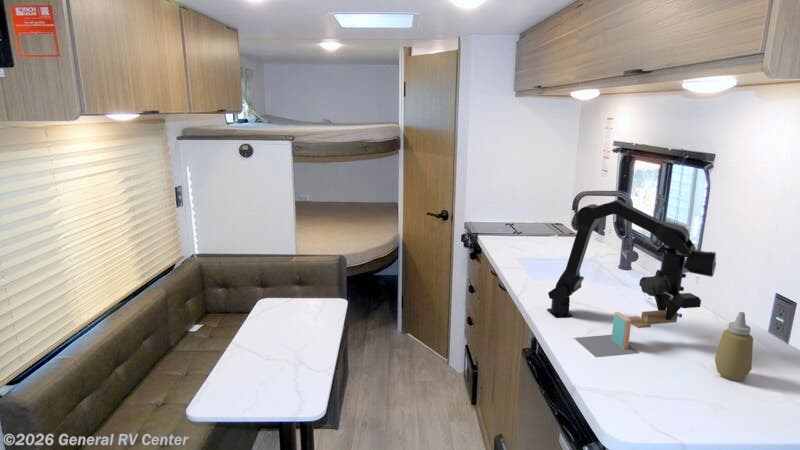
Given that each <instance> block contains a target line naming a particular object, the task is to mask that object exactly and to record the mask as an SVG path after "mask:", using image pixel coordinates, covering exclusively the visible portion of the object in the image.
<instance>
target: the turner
mask: <svg viewBox="0 0 800 450" xmlns="http://www.w3.org/2000/svg"><path fill="white" fill-rule="evenodd" d="M666 311H667V309H666V310H658V309H657V310H648V311H647V310H646V311H641V317H639V316H638V315H636V316H634V315H633V316H626V317H627V318H629V319H630V320H631V325H633V326H635V327H636V328H637V329H644V328H645V329H646V328H651V326H652V325H659V324H660V325H661V324H670V323H671V324H672V323H678V321H677V320H678V314H679V313H678V311H677V312H676V314H675V315H674V316H673V317H672V319H671V320H666Z"/></svg>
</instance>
